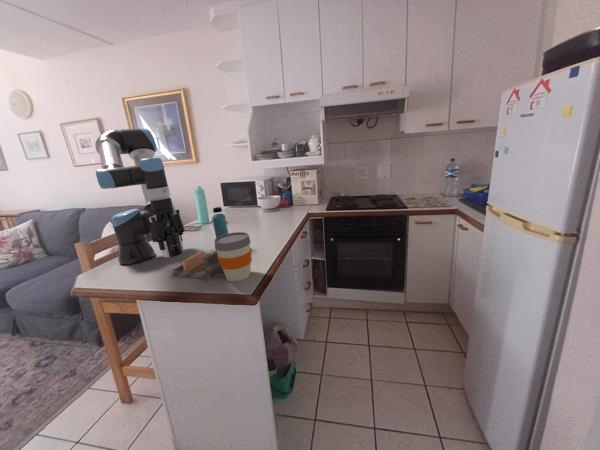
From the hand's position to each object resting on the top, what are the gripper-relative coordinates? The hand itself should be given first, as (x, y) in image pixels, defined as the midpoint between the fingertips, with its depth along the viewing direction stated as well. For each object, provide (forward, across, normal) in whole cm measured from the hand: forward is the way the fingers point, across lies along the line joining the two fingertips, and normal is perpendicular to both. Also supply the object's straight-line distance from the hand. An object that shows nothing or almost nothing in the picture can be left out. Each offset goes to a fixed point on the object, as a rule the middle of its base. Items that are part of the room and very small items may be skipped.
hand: (173, 253), depth 110 cm
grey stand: (+7, 0, -14) cm, 15 cm away
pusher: (+6, 0, -10) cm, 11 cm away
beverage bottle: (+7, +26, -5) cm, 27 cm away
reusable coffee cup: (+7, -2, -32) cm, 32 cm away
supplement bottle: (+1, 0, 0) cm, 1 cm away
